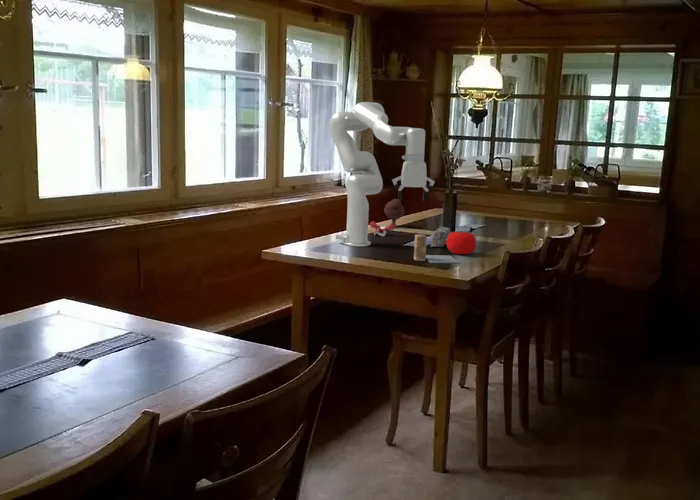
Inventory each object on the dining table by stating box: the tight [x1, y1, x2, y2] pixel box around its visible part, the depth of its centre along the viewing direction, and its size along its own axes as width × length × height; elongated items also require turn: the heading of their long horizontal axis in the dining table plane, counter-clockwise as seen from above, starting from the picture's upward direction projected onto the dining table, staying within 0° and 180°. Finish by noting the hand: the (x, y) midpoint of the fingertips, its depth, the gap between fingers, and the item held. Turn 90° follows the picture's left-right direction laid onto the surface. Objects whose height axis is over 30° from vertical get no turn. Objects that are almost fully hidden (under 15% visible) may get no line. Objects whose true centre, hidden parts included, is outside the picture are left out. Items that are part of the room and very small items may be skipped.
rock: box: [430, 225, 451, 248], centre depth 335 cm, size 16×8×10 cm, turn 146°
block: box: [413, 234, 428, 261], centre depth 303 cm, size 4×4×10 cm
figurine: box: [368, 220, 396, 237], centre depth 357 cm, size 15×12×7 cm
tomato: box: [445, 230, 477, 255], centre depth 318 cm, size 11×13×10 cm
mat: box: [425, 254, 460, 264], centre depth 305 cm, size 12×14×1 cm
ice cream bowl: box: [383, 198, 406, 229], centre depth 381 cm, size 11×11×15 cm
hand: (412, 200), depth 303 cm, fingers open, 9 cm apart
